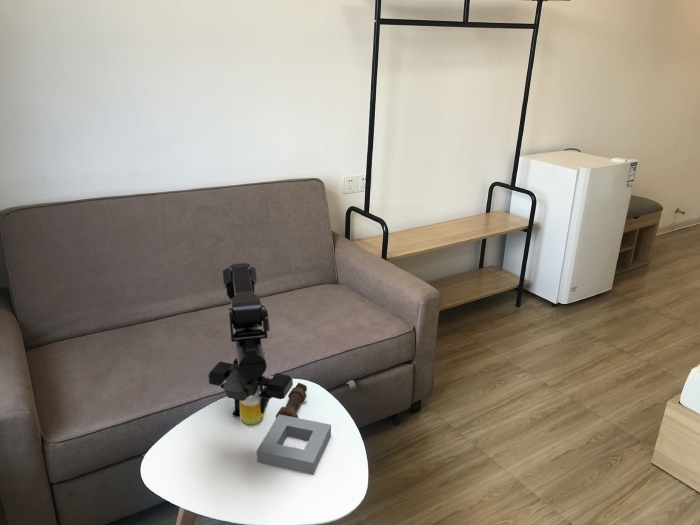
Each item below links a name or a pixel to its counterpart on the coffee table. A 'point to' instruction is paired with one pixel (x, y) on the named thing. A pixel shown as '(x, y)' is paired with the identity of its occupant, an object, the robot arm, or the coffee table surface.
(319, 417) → the coffee table surface
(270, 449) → the socket block
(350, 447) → the coffee table surface
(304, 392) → the bolt
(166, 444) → the coffee table surface
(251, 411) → the supplement bottle
